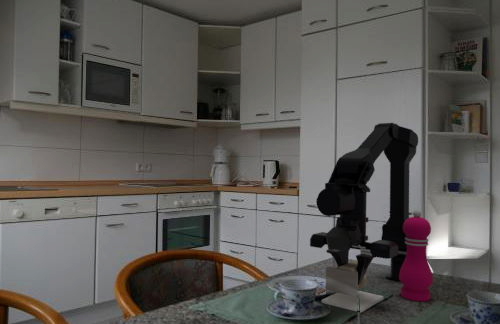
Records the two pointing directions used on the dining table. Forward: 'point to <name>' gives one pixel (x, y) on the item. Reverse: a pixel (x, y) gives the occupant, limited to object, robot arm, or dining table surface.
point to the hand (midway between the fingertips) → (351, 283)
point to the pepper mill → (416, 260)
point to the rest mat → (353, 300)
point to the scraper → (344, 279)
